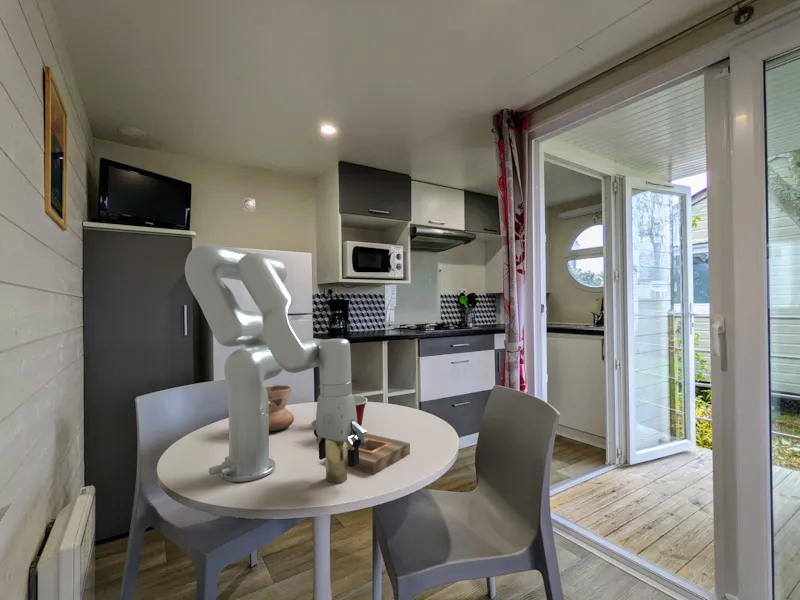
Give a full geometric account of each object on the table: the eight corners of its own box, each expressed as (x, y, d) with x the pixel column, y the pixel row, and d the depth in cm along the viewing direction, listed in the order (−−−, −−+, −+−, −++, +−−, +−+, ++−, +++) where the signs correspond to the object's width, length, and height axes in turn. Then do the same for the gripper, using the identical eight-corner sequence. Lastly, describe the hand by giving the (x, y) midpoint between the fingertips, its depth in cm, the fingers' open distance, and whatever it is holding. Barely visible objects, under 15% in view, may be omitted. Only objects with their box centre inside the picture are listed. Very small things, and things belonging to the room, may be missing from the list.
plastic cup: (351, 443, 114) (351, 403, 114) (327, 436, 121) (327, 399, 121) (375, 433, 123) (374, 397, 123) (351, 428, 129) (351, 393, 130)
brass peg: (336, 486, 86) (336, 442, 86) (321, 480, 89) (321, 438, 89) (351, 478, 90) (350, 436, 90) (336, 473, 93) (336, 432, 93)
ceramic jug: (286, 435, 122) (287, 392, 123) (242, 436, 122) (242, 392, 122) (299, 421, 140) (300, 383, 141) (261, 421, 140) (261, 383, 140)
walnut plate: (374, 474, 92) (374, 461, 92) (328, 460, 101) (328, 448, 101) (410, 453, 105) (409, 441, 105) (366, 443, 114) (366, 432, 114)
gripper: (300, 389, 92) (302, 460, 91) (352, 396, 82) (355, 475, 81) (322, 384, 98) (325, 450, 97) (373, 389, 88) (376, 463, 88)
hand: (338, 461), depth 89 cm, fingers open, 9 cm apart
